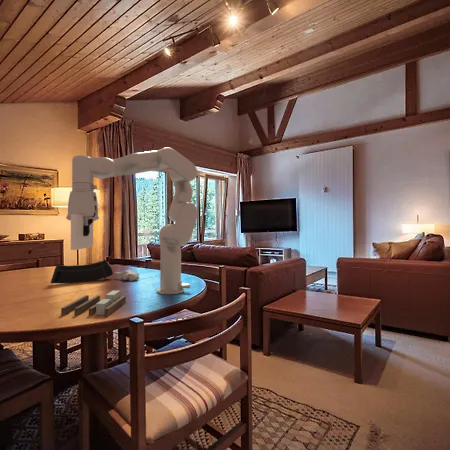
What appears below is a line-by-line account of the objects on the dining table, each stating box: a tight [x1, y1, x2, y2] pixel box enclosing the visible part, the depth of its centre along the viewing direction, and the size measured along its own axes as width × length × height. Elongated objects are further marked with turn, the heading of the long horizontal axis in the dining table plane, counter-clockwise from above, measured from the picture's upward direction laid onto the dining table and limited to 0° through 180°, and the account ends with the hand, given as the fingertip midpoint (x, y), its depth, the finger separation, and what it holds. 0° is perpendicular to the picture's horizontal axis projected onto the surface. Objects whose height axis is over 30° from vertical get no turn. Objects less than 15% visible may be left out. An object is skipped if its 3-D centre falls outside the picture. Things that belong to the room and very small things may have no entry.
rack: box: [60, 294, 127, 317], centre depth 112 cm, size 16×18×2 cm
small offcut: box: [95, 298, 111, 316], centre depth 108 cm, size 3×6×4 cm, turn 1°
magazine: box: [50, 259, 114, 285], centre depth 160 cm, size 17×3×30 cm
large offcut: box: [105, 290, 121, 304], centre depth 117 cm, size 3×7×5 cm, turn 0°
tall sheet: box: [70, 214, 94, 251], centre depth 116 cm, size 2×14×13 cm, turn 0°
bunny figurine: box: [114, 269, 140, 282], centre depth 168 cm, size 10×5×15 cm
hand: (82, 235), depth 116 cm, fingers closed on tall sheet, 2 cm apart
